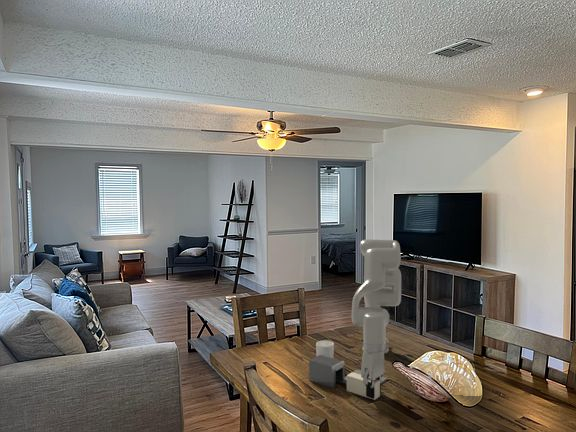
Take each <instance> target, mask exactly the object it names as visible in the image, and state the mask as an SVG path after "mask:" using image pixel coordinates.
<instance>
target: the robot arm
mask: <svg viewBox="0 0 576 432" xmlns="http://www.w3.org/2000/svg"><path fill="white" fill-rule="evenodd" d="M359 251H360V254H362V256H363V257H364V269H363V270H364V271H363V272H364V274H363V283H362V284H361V285H360V286H359V287H358V288H357V290H356V291H355V293H354V295H353V297H352V301H351V302H352V303H351V321H352V324H353V325H354V326H356V327H361V328H363V330H362V331H363V341H362V343H363V344H362V345H363V346H362V349H361V350H362V351H363V352H362V356H361V367H360V370H361V377H362V378H363V383H364V384H365V386H366V396H367V397H370V398H374V397H375V388H374V379H378V380H380V394H381V393H382V384H381V382H382V379H381V378H382V377H383V374H384V373H385V354H387V353H389V351H390V348H389V347H388V346H387V343H389V338H387V337H386V333H387V332H386V331H387V330H386V328H387V326H388V324H389V323H390V313H389V312H388V310H387V309H385V308H384V307H397V306H400V304H401V302H402V272H401V270H400V266H401V261H402V259H401V258H402V257H401V256H402V255H401V246H400V243H399V242H398V240H395V239H394V240H393V239H362V240H361V241H360V242H359ZM362 298H364V299H363V300H364V306H360V302H361V300H362ZM382 307H383V308H382ZM369 377H370V378H369ZM369 380H370V381H371V383H370V382H369ZM367 397H366V398H367ZM370 398H369V399H370Z"/></svg>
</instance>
